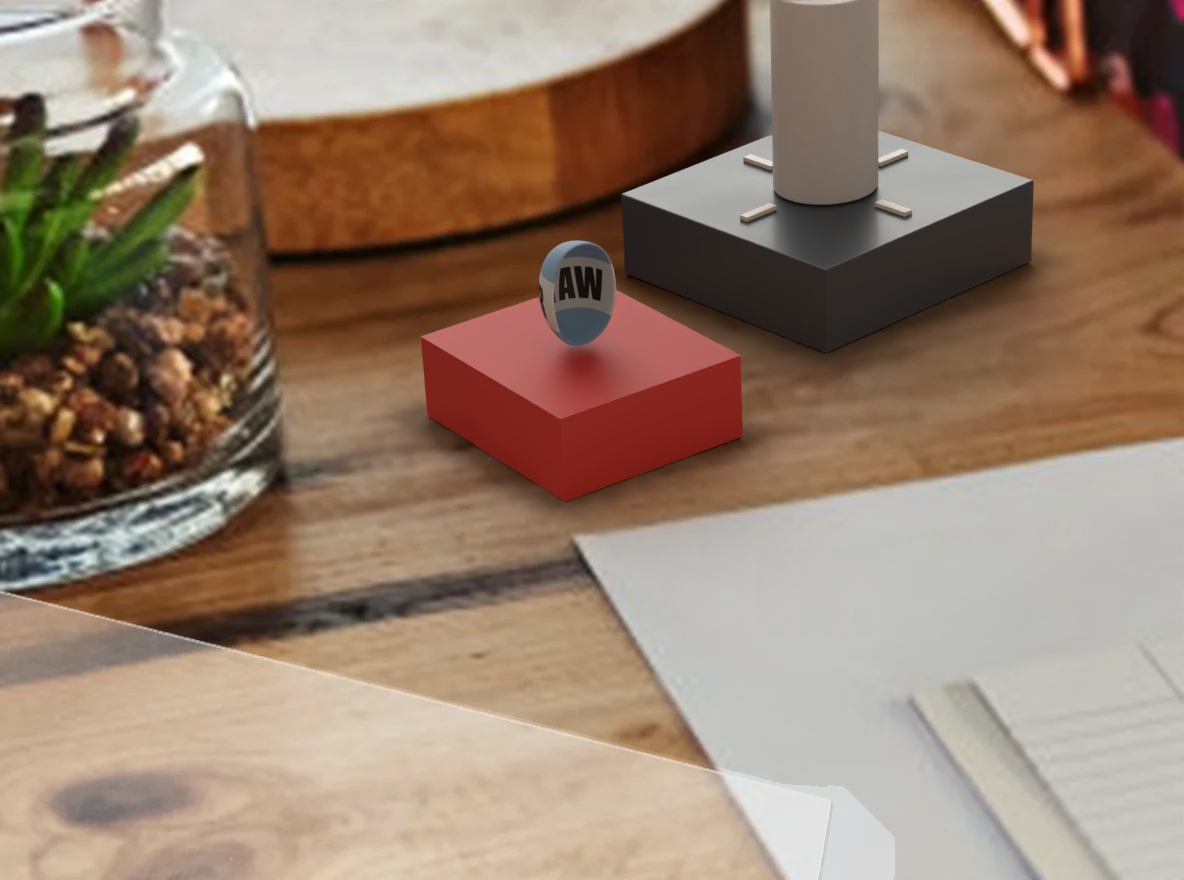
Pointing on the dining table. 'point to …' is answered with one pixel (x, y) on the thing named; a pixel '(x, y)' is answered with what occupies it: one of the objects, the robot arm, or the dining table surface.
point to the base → (828, 240)
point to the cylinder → (824, 99)
